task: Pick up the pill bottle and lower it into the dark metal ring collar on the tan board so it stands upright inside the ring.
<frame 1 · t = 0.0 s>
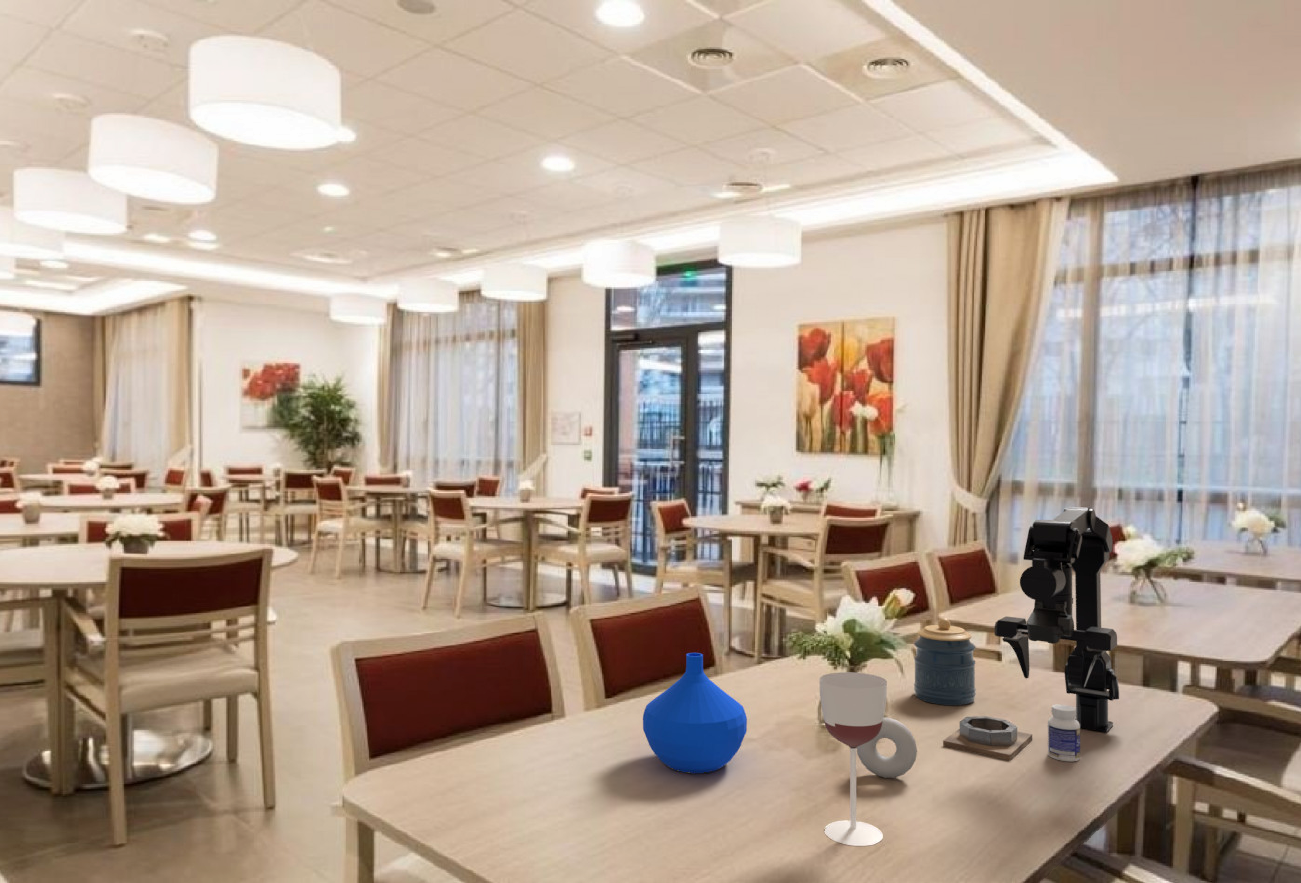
hand: (1054, 682, 151), 15 cm above the table, fingers open, 9 cm apart
wineglass: (853, 834, 125), on the table
canister: (944, 698, 192), on the table
tan board: (988, 742, 163), on the table
vase: (694, 764, 152), on the table
pill bottle: (1063, 758, 155), on the table
ring collar: (988, 730, 163), on the tan board, point 2 cm above the table
donut: (886, 778, 146), on the table
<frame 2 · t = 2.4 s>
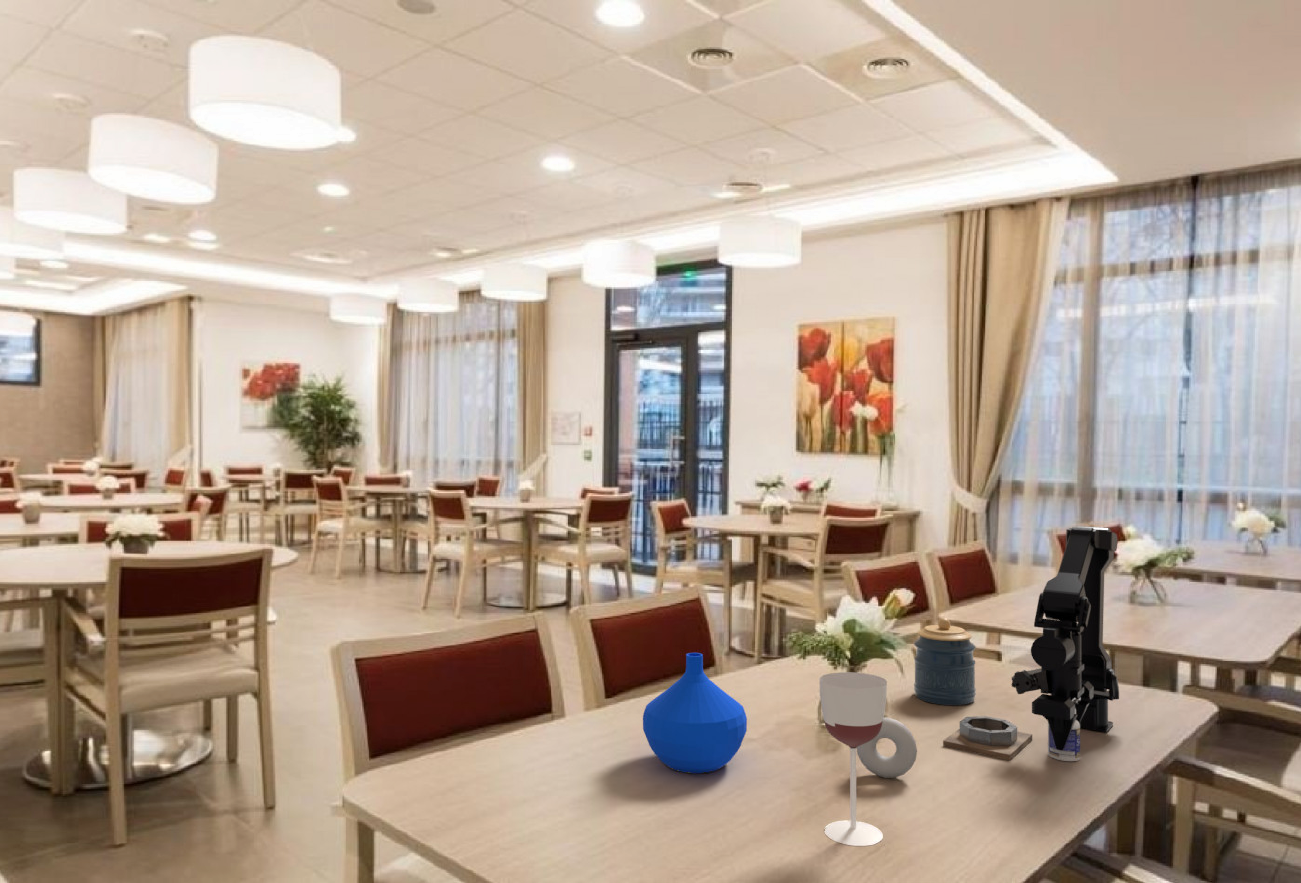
hand: (1063, 745, 155), 2 cm above the table, fingers closed on pill bottle, 5 cm apart
pill bottle: (1064, 758, 155), on the table, touching gripper
everything else where it was.
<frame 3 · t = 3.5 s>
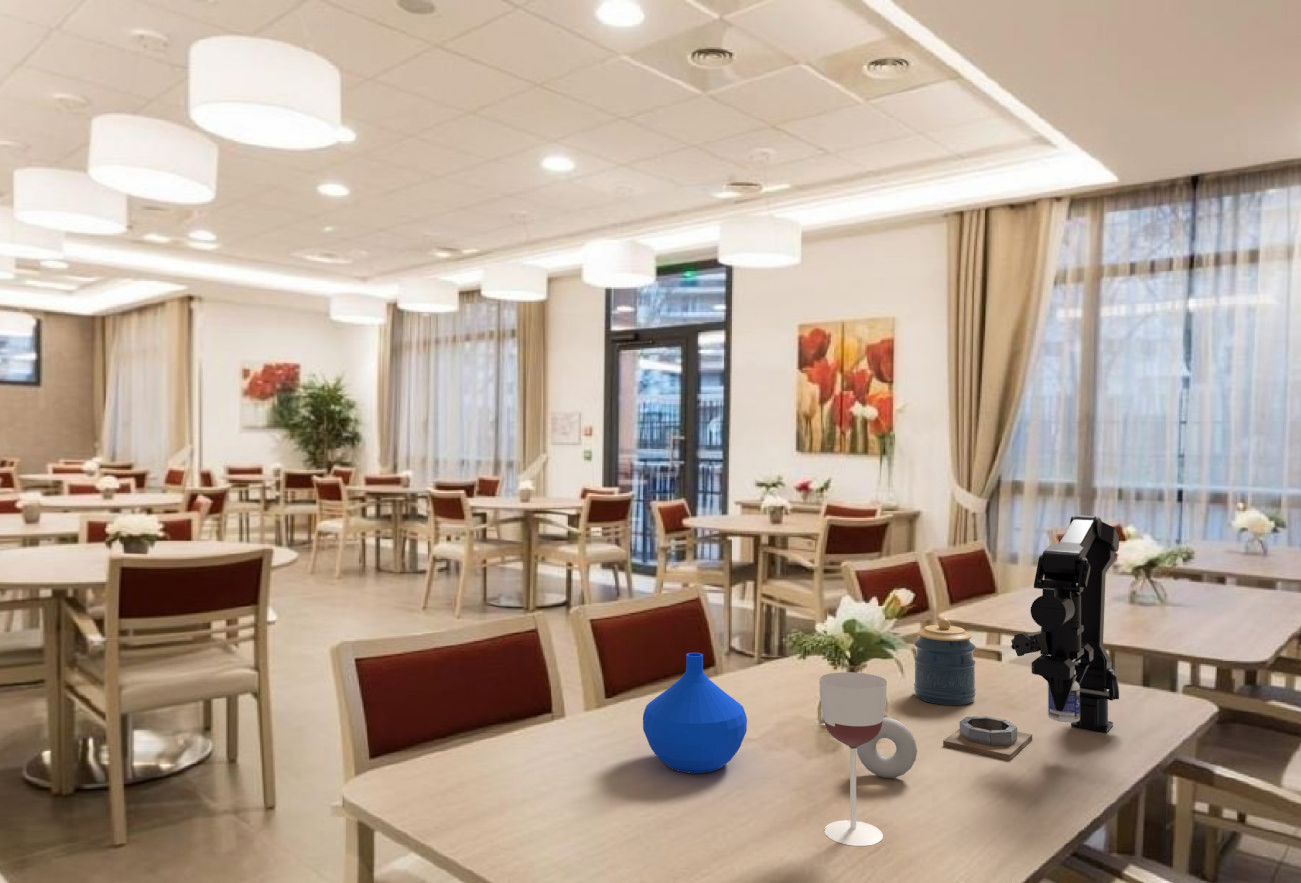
hand: (1063, 706, 155), 9 cm above the table, fingers closed on pill bottle, 5 cm apart
pill bottle: (1063, 719, 155), point 7 cm above the table, touching gripper
everything else where it was.
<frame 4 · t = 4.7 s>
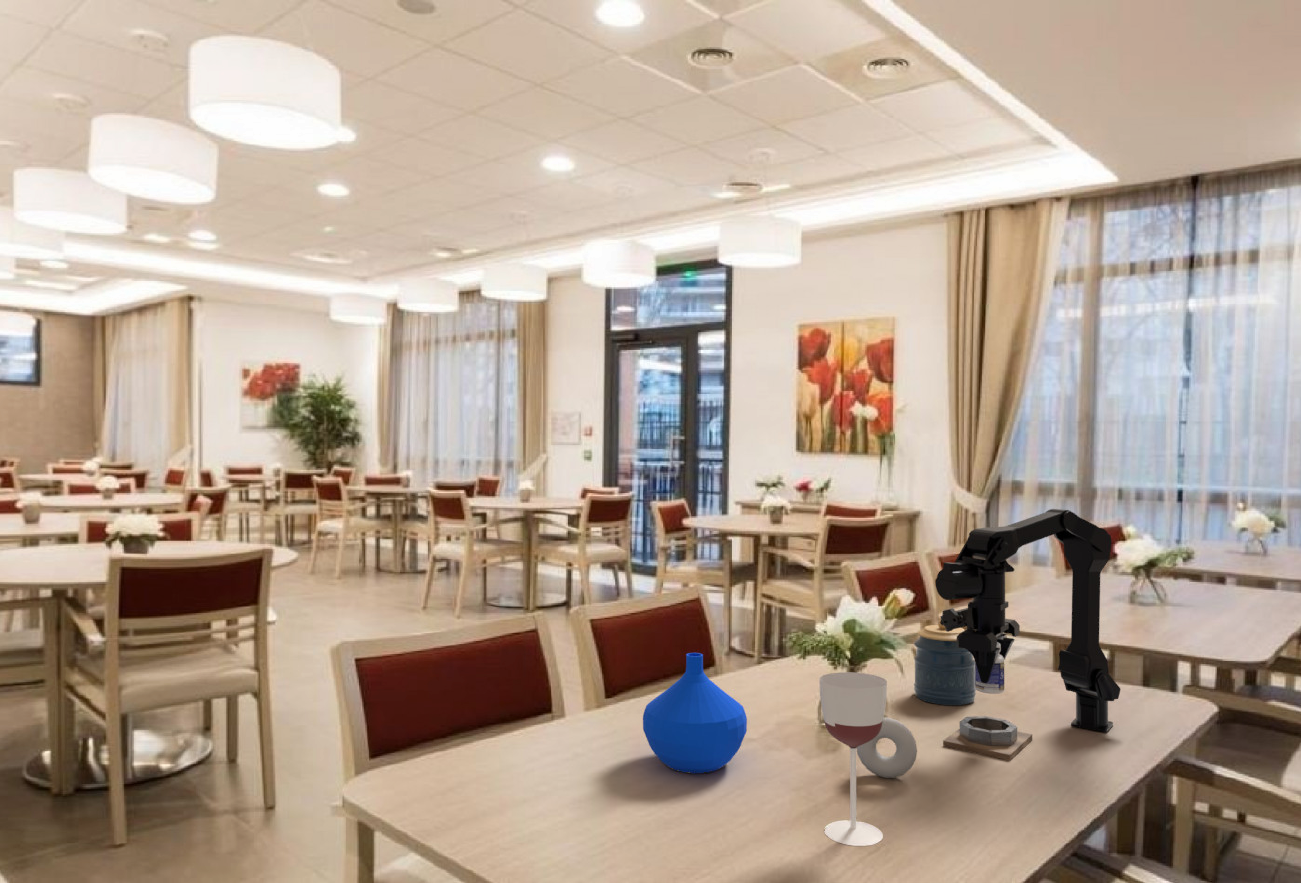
hand: (989, 679, 163), 12 cm above the table, fingers closed on pill bottle, 5 cm apart
pill bottle: (989, 691, 163), point 10 cm above the table, touching gripper
everything else where it was.
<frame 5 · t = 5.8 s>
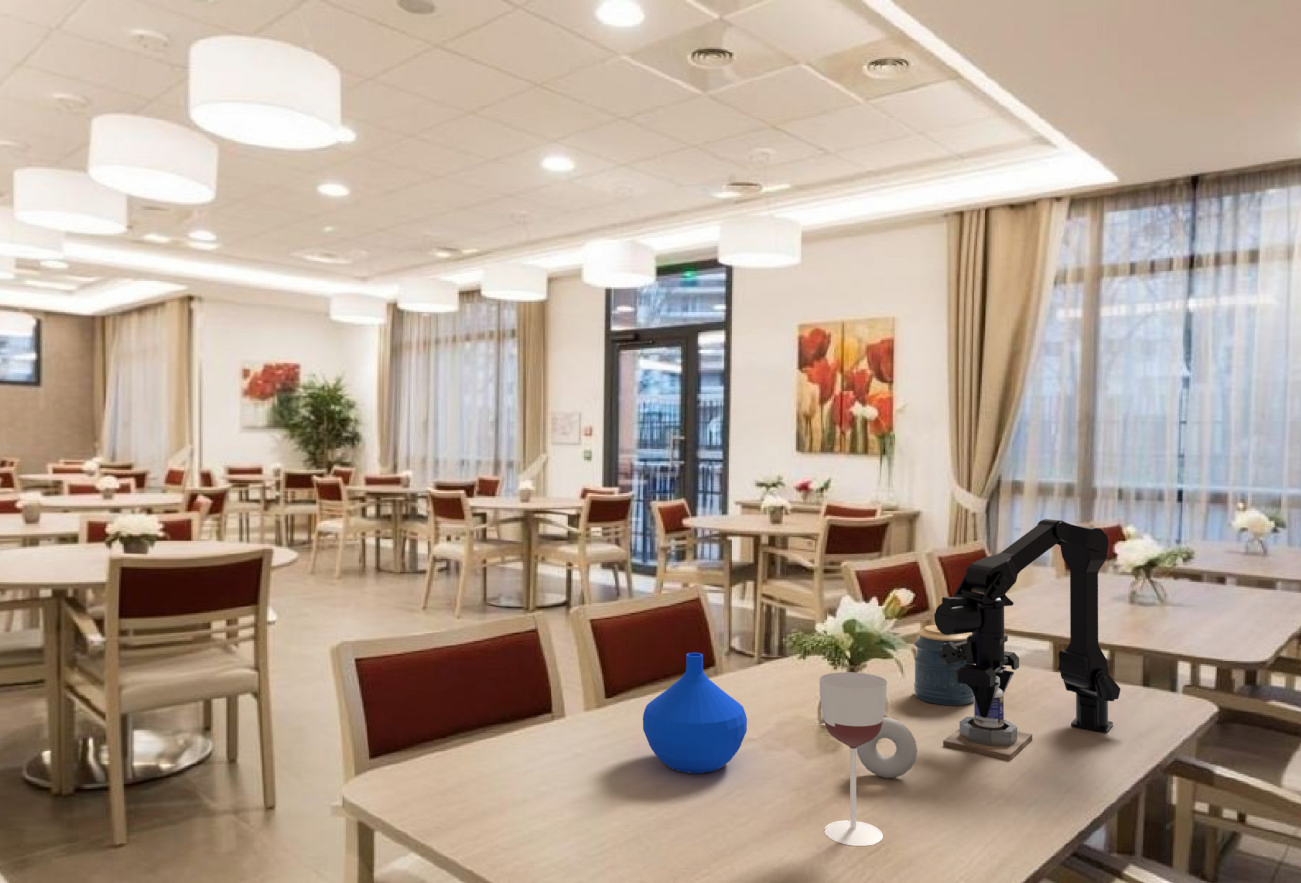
hand: (988, 713, 163), 6 cm above the table, fingers closed on pill bottle, 5 cm apart
pill bottle: (988, 725, 163), point 3 cm above the table, touching gripper
everything else where it was.
when the fingers open (4 cm above the table, at t = 6.9 s): pill bottle drops 1 cm, resting on tan board.
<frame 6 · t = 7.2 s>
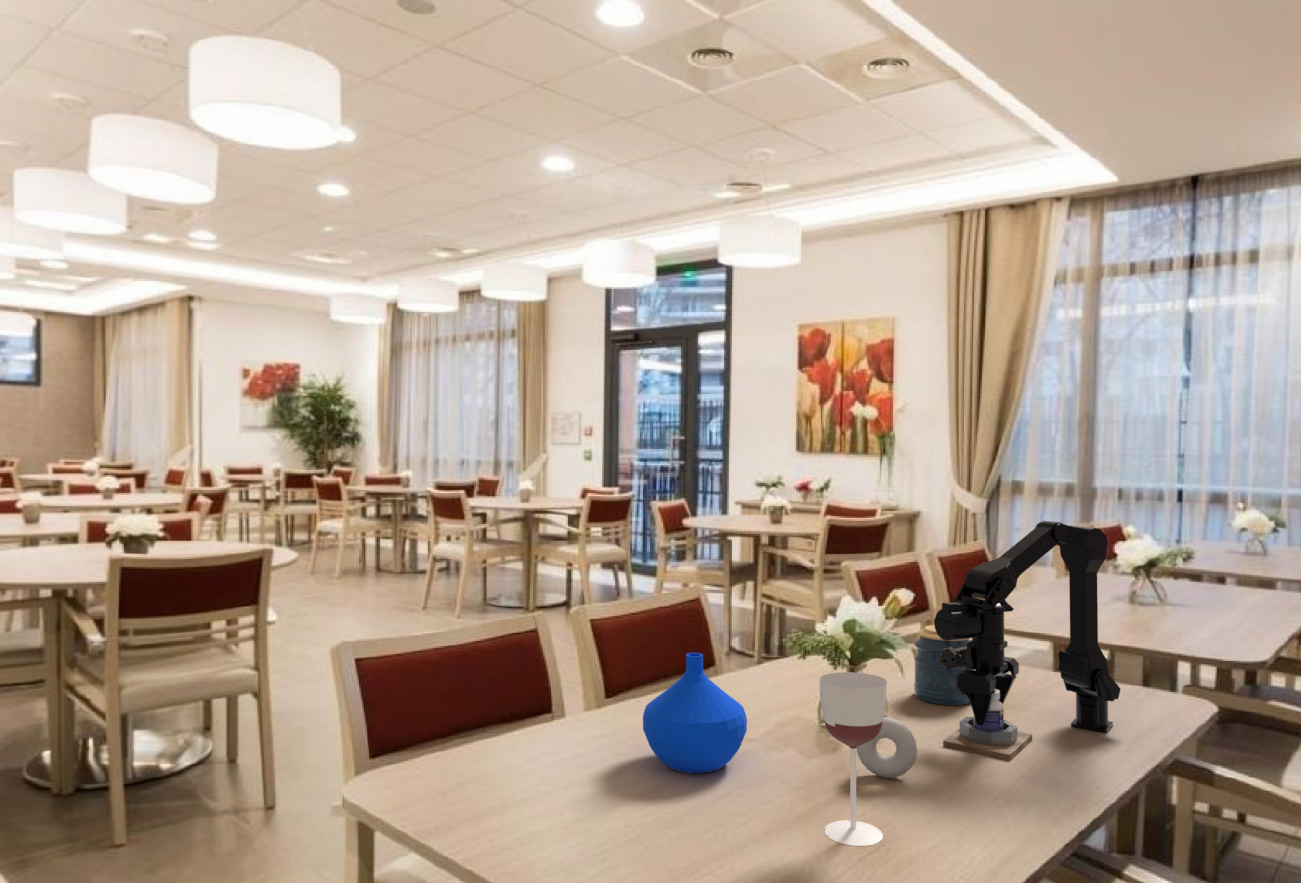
hand: (988, 718, 163), 4 cm above the table, fingers open, 9 cm apart
pill bottle: (988, 738, 163), point 1 cm above the table, touching tan board
everything else where it was.
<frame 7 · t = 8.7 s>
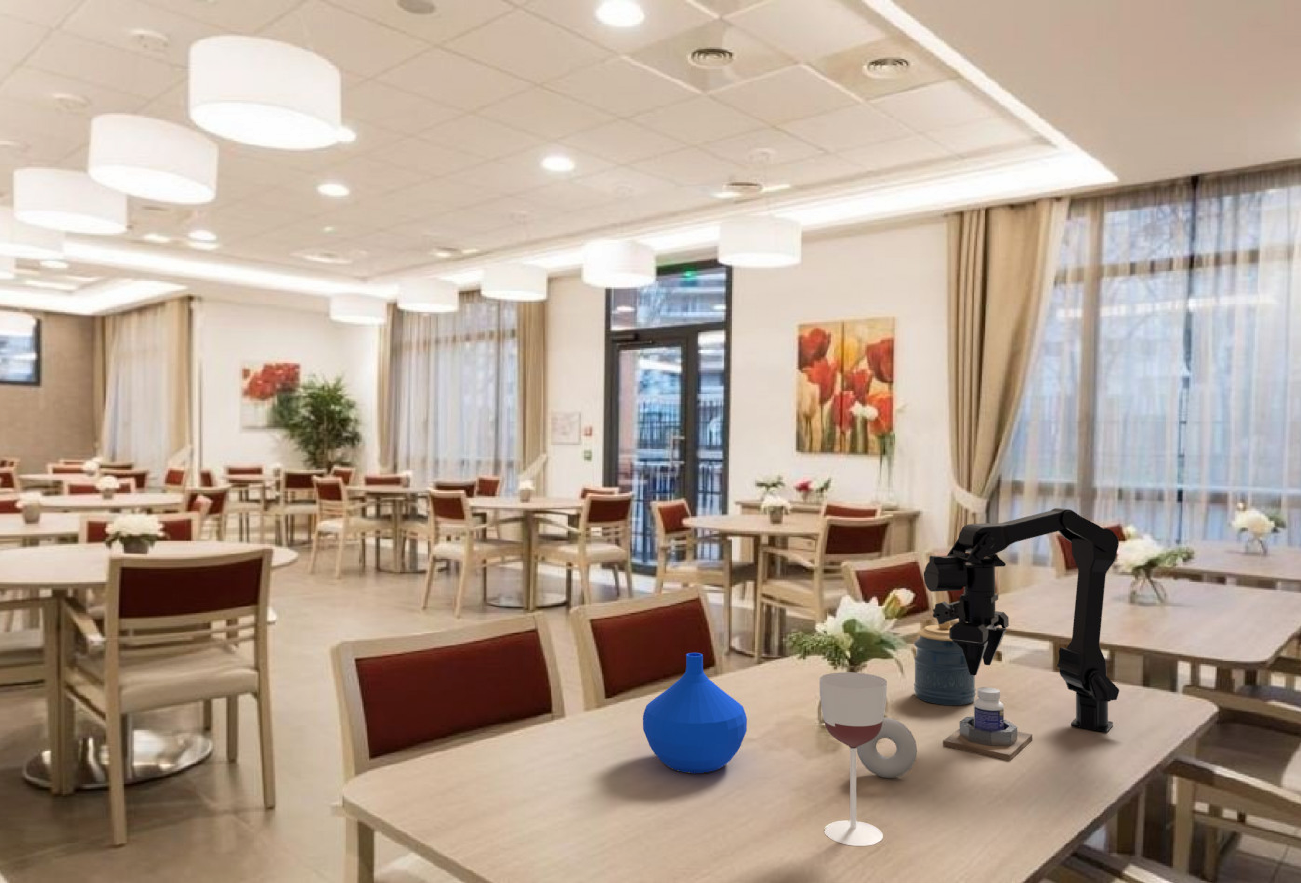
hand: (980, 669, 169), 12 cm above the table, fingers open, 9 cm apart
nothing on the table moved.
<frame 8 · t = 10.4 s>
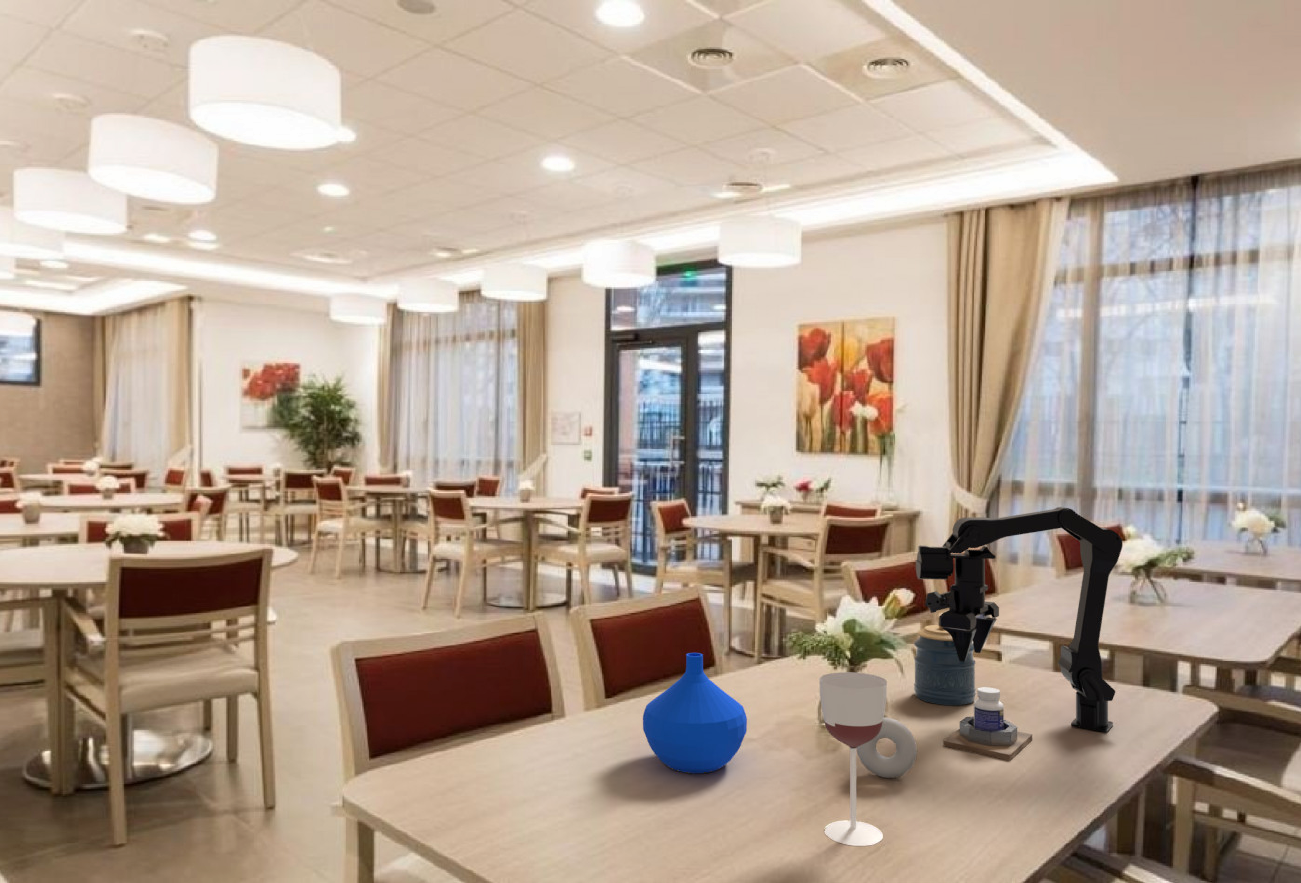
hand: (970, 657, 176), 13 cm above the table, fingers open, 9 cm apart
nothing on the table moved.
at the end: pill bottle 0.2 cm off-centre on the ring collar, point 0.8 cm above the ring collar's base; pill bottle tilted 0°; the gripper is holding nothing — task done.
